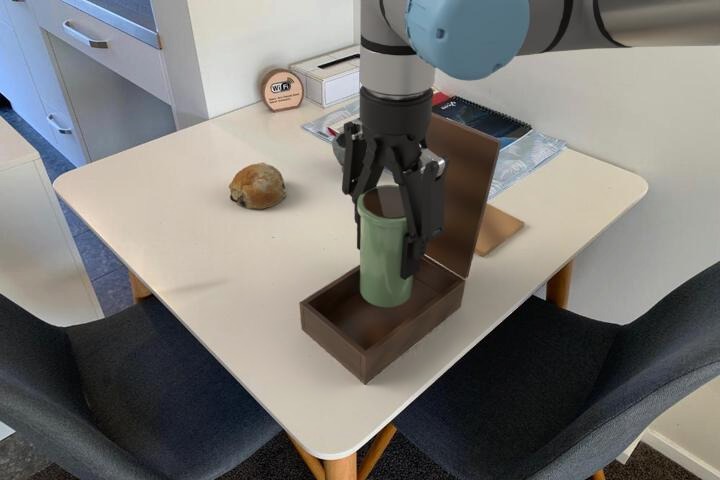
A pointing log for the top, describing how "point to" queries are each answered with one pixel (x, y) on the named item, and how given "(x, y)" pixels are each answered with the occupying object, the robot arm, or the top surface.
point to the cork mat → (495, 229)
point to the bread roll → (257, 187)
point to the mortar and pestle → (340, 147)
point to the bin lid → (461, 189)
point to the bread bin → (378, 318)
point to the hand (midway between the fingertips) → (387, 258)
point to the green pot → (382, 247)
